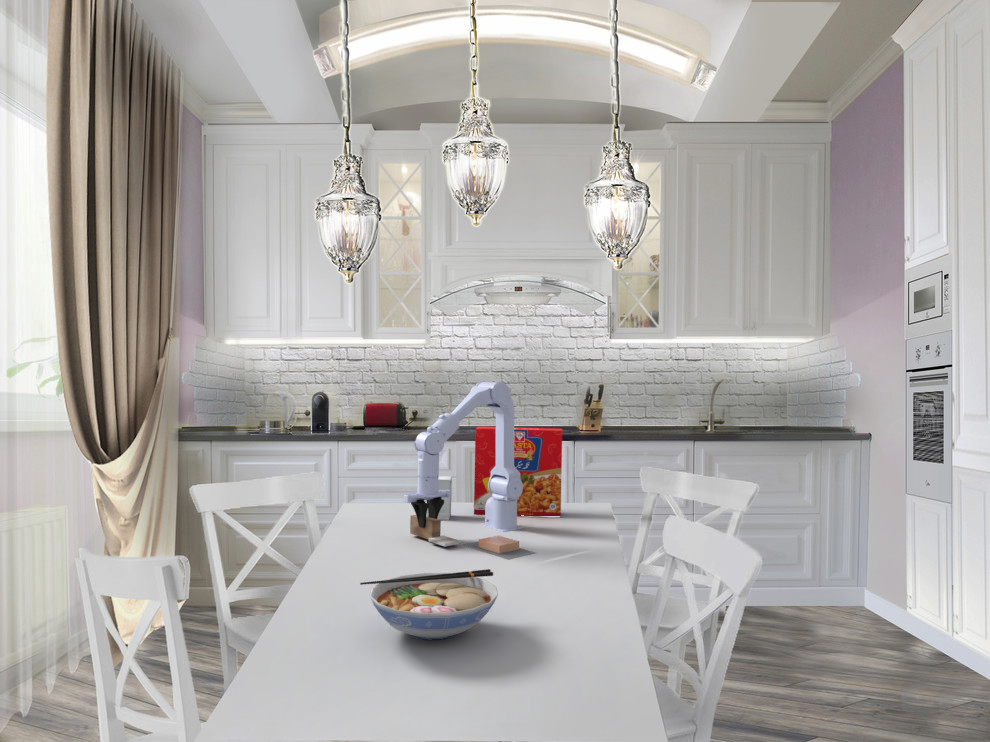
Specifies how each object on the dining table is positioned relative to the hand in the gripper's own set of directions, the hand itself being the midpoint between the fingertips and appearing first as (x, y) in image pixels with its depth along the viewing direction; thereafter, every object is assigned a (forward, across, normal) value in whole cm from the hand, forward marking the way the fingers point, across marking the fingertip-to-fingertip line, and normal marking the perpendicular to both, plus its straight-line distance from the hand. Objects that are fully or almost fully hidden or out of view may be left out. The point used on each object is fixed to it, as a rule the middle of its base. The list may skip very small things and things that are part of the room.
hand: (427, 526), depth 187 cm
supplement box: (+4, +21, +22) cm, 31 cm away
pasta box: (+4, +45, +11) cm, 47 cm away
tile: (+2, +9, -15) cm, 18 cm away
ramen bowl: (+4, -38, -53) cm, 65 cm away
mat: (+4, +9, -19) cm, 21 cm away
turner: (+3, 0, -2) cm, 4 cm away
